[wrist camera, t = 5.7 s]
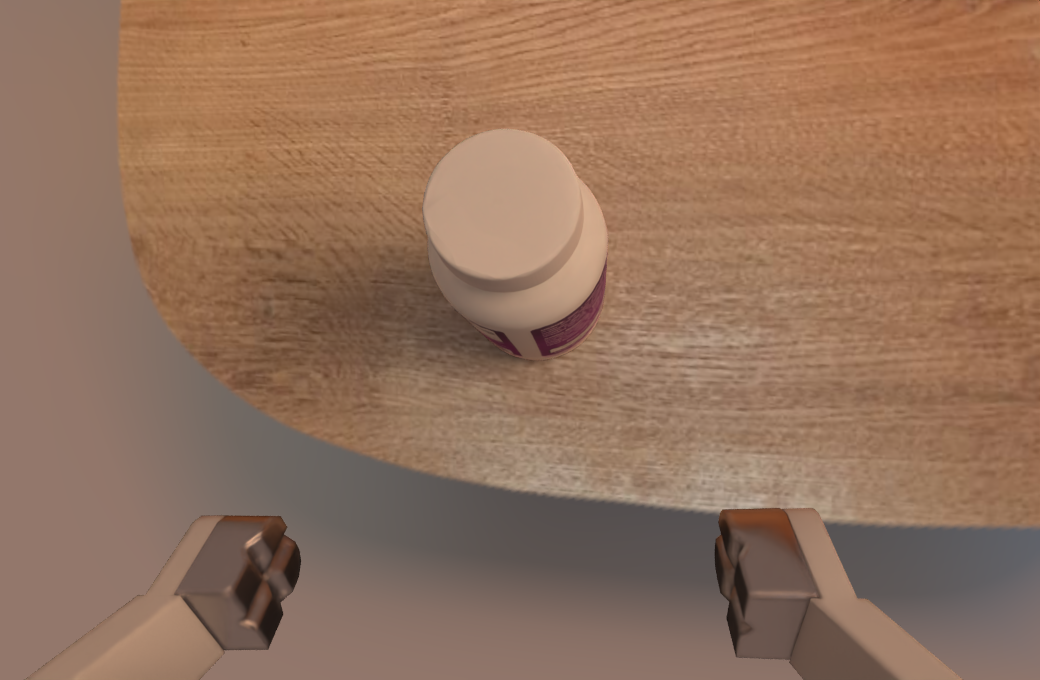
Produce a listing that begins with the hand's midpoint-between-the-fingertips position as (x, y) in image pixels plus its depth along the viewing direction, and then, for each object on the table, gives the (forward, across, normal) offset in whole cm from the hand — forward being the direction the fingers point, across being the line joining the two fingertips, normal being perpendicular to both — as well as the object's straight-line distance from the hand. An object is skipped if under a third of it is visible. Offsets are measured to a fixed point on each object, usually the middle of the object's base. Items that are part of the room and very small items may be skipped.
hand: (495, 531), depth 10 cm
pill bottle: (+14, 0, +3) cm, 14 cm away
